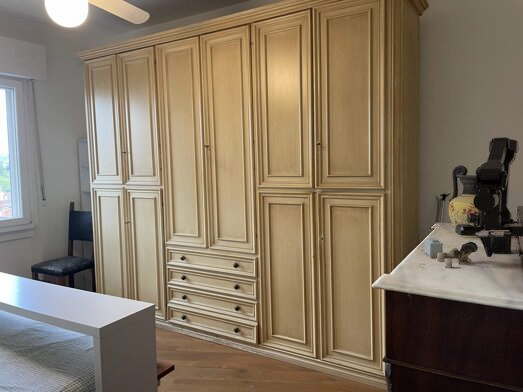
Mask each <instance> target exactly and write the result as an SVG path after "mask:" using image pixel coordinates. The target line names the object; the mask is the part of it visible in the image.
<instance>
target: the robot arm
mask: <svg viewBox="0 0 523 392" xmlns="http://www.w3.org/2000/svg"><path fill="white" fill-rule="evenodd" d="M488 145H489V146H488V152H489V153H488V157H487V159H486V161H485V162H484V163H482V164H481V165H480V166H481V167H480V166H479V167H480V169H479V171H477V175H476V174H475V175H476V180H475V186H474V190H479V191H480V192H479V193H478V194H477V195H476V196H475V197H474V200H473V203H474V206H475V207H476V208H477V209H478V215H475V213H468V214H467V222H468V223H473V226H472V225H470V224H457V226H456V227H455V228H454V229H455V233H456V234H457V235H458V234H459V235H461V236H460V237H462V236H472V235H475V236H477V237H478V238H479V239H480V242H481V244H482V246H483V250H484V252H485V254H486V257H487V258H492V256H493V255H494V254H514V251H512V237H517V236H518V237H519V236H520V237H521V236H522V237H523V225H521V224H518V223H516V222H515V219H514V218H513V213H512V212H511V210H510V208H509V193H510V192H509V191H510V175H511V174H510V173H511V166H512V164H513V163H515V162H514V161H515V160H516V159H517V154H518V153H519V149H520V147H519V145H520V144H519V141H518V140H515V139H511V138H510V137H507V136H506V137H505V136H503V137H494V138H491V140H490V141H489V143H488ZM479 182H480V184H479ZM478 226H479V227H478ZM459 235H458V236H459Z"/></svg>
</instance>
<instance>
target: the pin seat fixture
mask: <svg viewBox="0 0 523 392" xmlns="http://www.w3.org/2000/svg"><path fill="white" fill-rule="evenodd" d="M453 256H454V255H451V254H447V253H446V252H443V253H437V255H431V256H430V259H436V261H437V262H444V267H445V268H447V269H452V268H453V259H455V260H457V259H458V258H455V256H454V257H453ZM458 260H459V259H458Z"/></svg>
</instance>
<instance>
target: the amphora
mask: <svg viewBox="0 0 523 392" xmlns="http://www.w3.org/2000/svg"><path fill="white" fill-rule="evenodd" d="M480 167H481V165H480V166H478V167H476V169H475V174H468V168H467V167H466V166H464V165H462V164H459V165H457V166H455V167H454V168H453V170H452V172H451V173H452V174H451V175H452V187H453V188H452V189H453V190H452V191H453V192H452V197H451V198H450V199H448V202H450V203H449V205H448V215H449V218H450V221H451V224H452V225H453V227H455V228H456V226H457V224H470V225H472V226H473V223H468V222H467V214H468V213H475V215H478V209H477V208H476V207H475V206H474V203H473V200H474V197H475V196H476V195H477V194H478V193H479V192H480V190H474V186H475V180H476V175H477V171H479V169H480ZM458 178H459V181H460V183H461V184H462V187H463V189H462V193H461V194H460V195H459V184H458ZM479 184H480V182H479ZM458 195H459V196H458ZM478 227H479V226H478ZM457 235H458V236H459V237H463V238H470V239H471V238H472V239H473V238H475V239H477V238H479V237H477V236H475V235H472V236H461V235H459V234H457Z"/></svg>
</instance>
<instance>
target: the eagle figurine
mask: <svg viewBox="0 0 523 392" xmlns="http://www.w3.org/2000/svg"><path fill="white" fill-rule="evenodd" d="M478 249H479V246H478V245H477V243H476V242H475V241H474V242H473V241H468V242H465V243H463V244H462V245H461V248H460V249H458V248H457V247H454V248H452V249H450V250H449V255H454V256H455V258H458V265H461V264H462V263H463V261H464V260H465V261H467V262H469V263H470V264H472V259H471V258H470V257H469V256H470V255H471V254H472V253H476V252H478ZM454 256H453V257H454Z"/></svg>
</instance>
